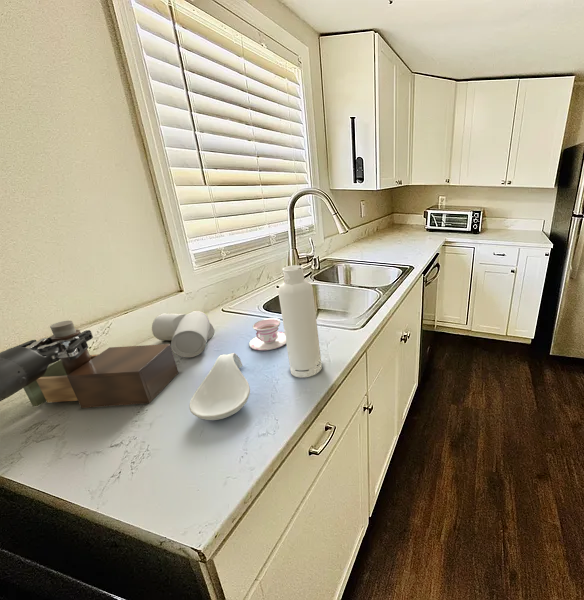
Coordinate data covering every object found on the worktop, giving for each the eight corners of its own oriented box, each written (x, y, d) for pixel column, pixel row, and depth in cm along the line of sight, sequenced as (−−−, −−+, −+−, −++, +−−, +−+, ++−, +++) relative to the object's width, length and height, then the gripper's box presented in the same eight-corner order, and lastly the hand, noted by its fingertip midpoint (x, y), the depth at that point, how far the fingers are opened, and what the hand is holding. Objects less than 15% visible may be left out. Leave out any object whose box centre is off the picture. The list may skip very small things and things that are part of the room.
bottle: (285, 369, 87) (268, 268, 77) (311, 357, 93) (299, 261, 82) (300, 381, 82) (284, 274, 72) (327, 368, 87) (316, 267, 77)
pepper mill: (66, 389, 76) (39, 329, 70) (83, 377, 80) (59, 319, 75) (88, 387, 76) (63, 328, 71) (104, 375, 81) (81, 318, 75)
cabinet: (81, 408, 73) (66, 376, 70) (120, 376, 85) (109, 347, 82) (149, 403, 75) (138, 371, 72) (178, 372, 86) (170, 343, 83)
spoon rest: (251, 420, 69) (245, 392, 66) (187, 435, 65) (178, 406, 63) (255, 364, 90) (251, 341, 87) (207, 373, 86) (201, 349, 83)
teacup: (266, 331, 109) (262, 314, 106) (297, 335, 106) (295, 318, 103) (240, 348, 98) (236, 330, 96) (274, 353, 95) (271, 334, 93)
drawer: (12, 408, 72) (-2, 382, 70) (57, 378, 83) (46, 355, 81) (97, 402, 74) (86, 376, 72) (131, 373, 85) (122, 350, 82)
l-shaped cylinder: (235, 328, 108) (179, 326, 110) (225, 301, 102) (166, 300, 104) (204, 366, 94) (140, 363, 96) (189, 338, 88) (122, 336, 90)
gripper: (36, 355, 60) (105, 318, 76) (-51, 360, 59) (37, 321, 75) (52, 389, 63) (115, 346, 78) (-31, 394, 61) (50, 350, 77)
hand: (77, 334), depth 76 cm, fingers closed on pepper mill, 5 cm apart
